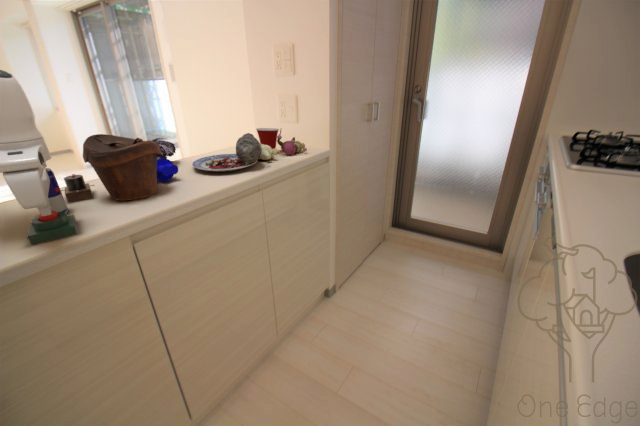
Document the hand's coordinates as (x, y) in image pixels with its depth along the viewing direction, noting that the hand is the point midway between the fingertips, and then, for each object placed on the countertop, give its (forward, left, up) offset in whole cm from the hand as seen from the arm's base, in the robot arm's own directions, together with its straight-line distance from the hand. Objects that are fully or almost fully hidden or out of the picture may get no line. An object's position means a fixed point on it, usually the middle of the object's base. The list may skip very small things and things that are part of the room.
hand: (47, 213), depth 66 cm
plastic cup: (+80, +39, -5) cm, 89 cm away
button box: (0, 0, -5) cm, 5 cm away
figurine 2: (+89, +39, -5) cm, 97 cm away
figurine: (+96, +35, +1) cm, 102 cm away
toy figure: (+31, +22, 0) cm, 38 cm away
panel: (+5, +25, -5) cm, 26 cm away
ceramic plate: (+54, +30, -5) cm, 62 cm away
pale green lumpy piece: (+73, +24, -1) cm, 77 cm away
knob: (+6, +24, -2) cm, 25 cm away
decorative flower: (+29, +43, -2) cm, 52 cm away
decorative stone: (+58, +28, +4) cm, 65 cm away
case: (+19, +17, -5) cm, 26 cm away
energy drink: (0, +13, -5) cm, 14 cm away
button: (0, 0, -2) cm, 2 cm away
